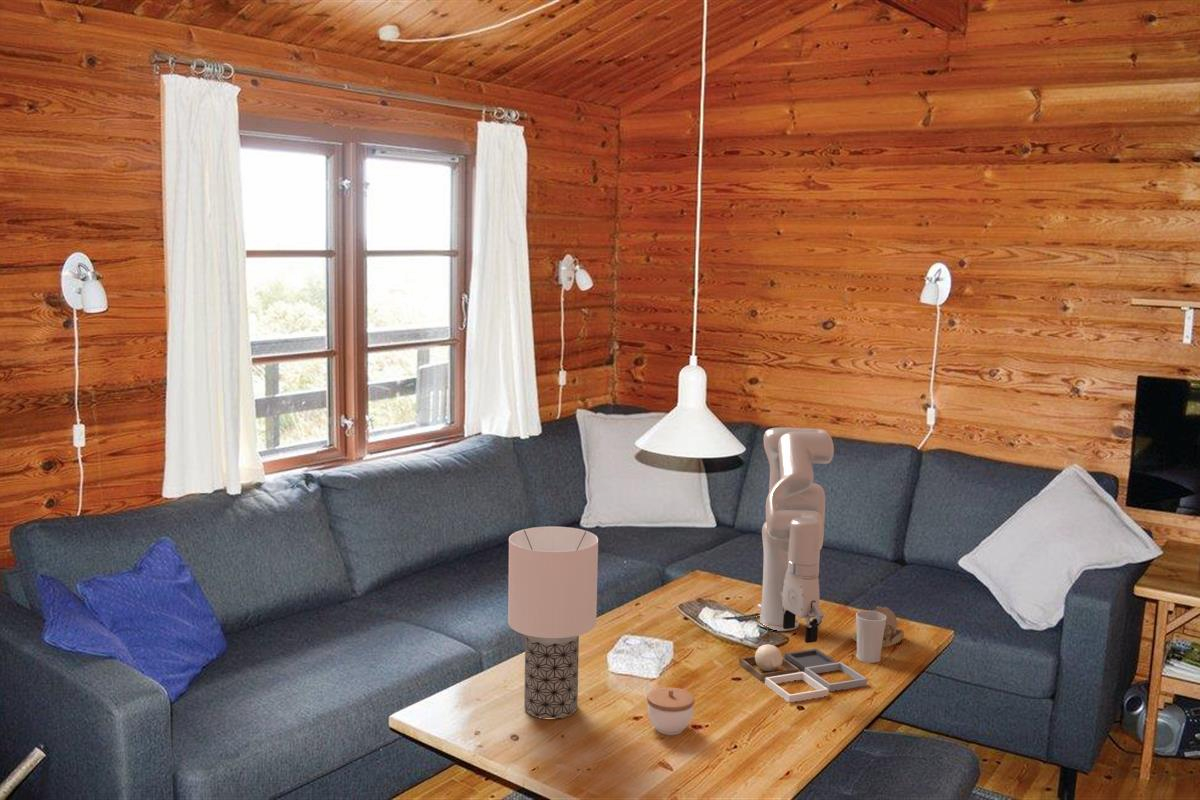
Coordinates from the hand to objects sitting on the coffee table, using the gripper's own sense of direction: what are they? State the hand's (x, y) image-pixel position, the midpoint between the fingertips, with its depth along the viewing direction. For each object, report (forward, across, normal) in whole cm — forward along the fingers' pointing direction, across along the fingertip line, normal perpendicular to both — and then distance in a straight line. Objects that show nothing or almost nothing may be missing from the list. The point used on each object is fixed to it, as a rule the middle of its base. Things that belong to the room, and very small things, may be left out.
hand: (799, 634), depth 258 cm
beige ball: (+15, -13, 0) cm, 20 cm away
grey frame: (+14, -2, +13) cm, 20 cm away
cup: (+15, -11, +30) cm, 35 cm away
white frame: (+14, 0, 0) cm, 15 cm away
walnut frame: (+14, -13, 0) cm, 20 cm away
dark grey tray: (+14, -13, +13) cm, 23 cm away
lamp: (+15, -11, -61) cm, 64 cm away
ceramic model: (+15, -21, +41) cm, 48 cm away
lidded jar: (+15, +8, -39) cm, 43 cm away
